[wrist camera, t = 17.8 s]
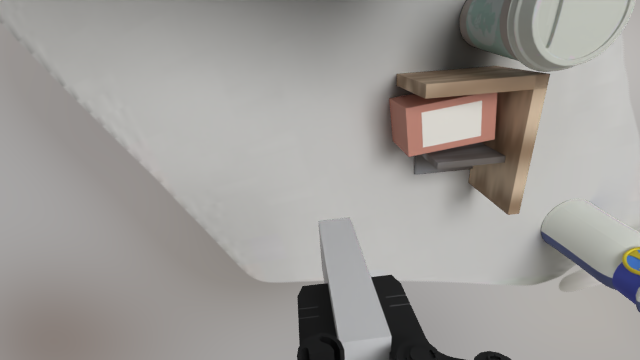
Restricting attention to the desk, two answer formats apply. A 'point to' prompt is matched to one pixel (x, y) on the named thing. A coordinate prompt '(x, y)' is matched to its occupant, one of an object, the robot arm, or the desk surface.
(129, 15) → the desk surface
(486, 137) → the red box
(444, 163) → the shelf
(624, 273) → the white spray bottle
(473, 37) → the coffee cup
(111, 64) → the desk surface
